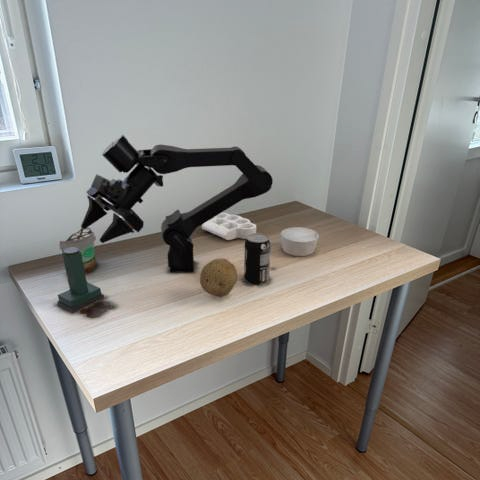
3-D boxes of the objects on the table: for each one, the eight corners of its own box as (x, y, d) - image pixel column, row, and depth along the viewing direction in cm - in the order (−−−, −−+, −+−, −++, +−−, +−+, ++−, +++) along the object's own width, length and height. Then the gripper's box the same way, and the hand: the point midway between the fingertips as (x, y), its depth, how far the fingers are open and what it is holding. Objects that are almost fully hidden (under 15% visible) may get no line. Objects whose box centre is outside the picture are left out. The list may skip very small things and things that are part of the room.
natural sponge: (223, 310, 110) (223, 271, 104) (193, 299, 114) (191, 262, 108) (243, 294, 116) (244, 257, 111) (214, 285, 120) (213, 249, 115)
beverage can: (243, 274, 126) (243, 232, 119) (267, 274, 126) (269, 232, 120) (245, 286, 120) (246, 242, 114) (270, 285, 121) (272, 241, 114)
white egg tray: (195, 229, 153) (229, 219, 162) (231, 245, 142) (265, 233, 150) (195, 219, 152) (229, 209, 160) (231, 234, 140) (266, 223, 149)
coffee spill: (102, 299, 113) (102, 299, 113) (117, 306, 111) (117, 306, 111) (77, 311, 109) (77, 311, 108) (92, 319, 106) (92, 319, 106)
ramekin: (313, 260, 134) (314, 243, 131) (275, 255, 137) (276, 238, 134) (320, 246, 143) (322, 229, 140) (284, 241, 146) (285, 225, 143)
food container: (87, 279, 122) (80, 244, 117) (65, 277, 123) (58, 241, 118) (107, 260, 133) (102, 226, 127) (87, 258, 134) (81, 224, 128)
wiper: (88, 290, 117) (79, 240, 110) (104, 298, 114) (95, 247, 107) (57, 304, 111) (45, 252, 104) (73, 313, 108) (61, 260, 101)
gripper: (94, 152, 113) (50, 200, 111) (135, 175, 102) (87, 228, 100) (121, 183, 122) (81, 228, 120) (162, 207, 111) (118, 256, 109)
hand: (91, 234), depth 112 cm, fingers open, 9 cm apart
